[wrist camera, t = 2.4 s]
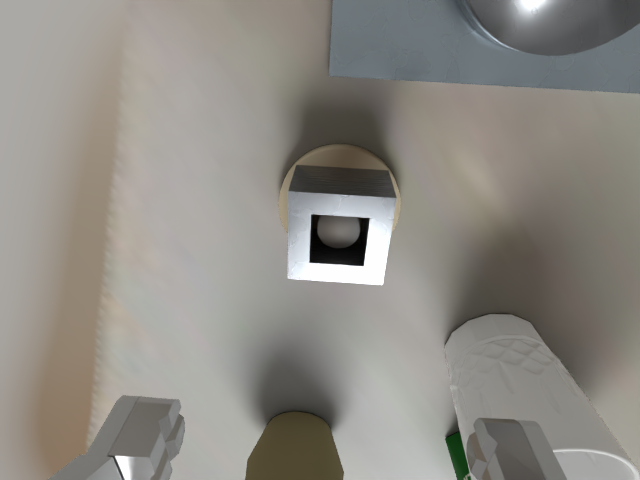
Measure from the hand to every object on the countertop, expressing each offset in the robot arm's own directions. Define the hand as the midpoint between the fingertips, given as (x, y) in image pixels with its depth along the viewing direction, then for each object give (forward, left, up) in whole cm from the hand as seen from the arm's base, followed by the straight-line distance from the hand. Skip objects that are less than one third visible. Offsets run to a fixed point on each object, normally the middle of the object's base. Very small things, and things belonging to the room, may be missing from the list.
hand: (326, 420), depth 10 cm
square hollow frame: (0, 0, -13) cm, 13 cm away
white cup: (-12, +11, -14) cm, 22 cm away
